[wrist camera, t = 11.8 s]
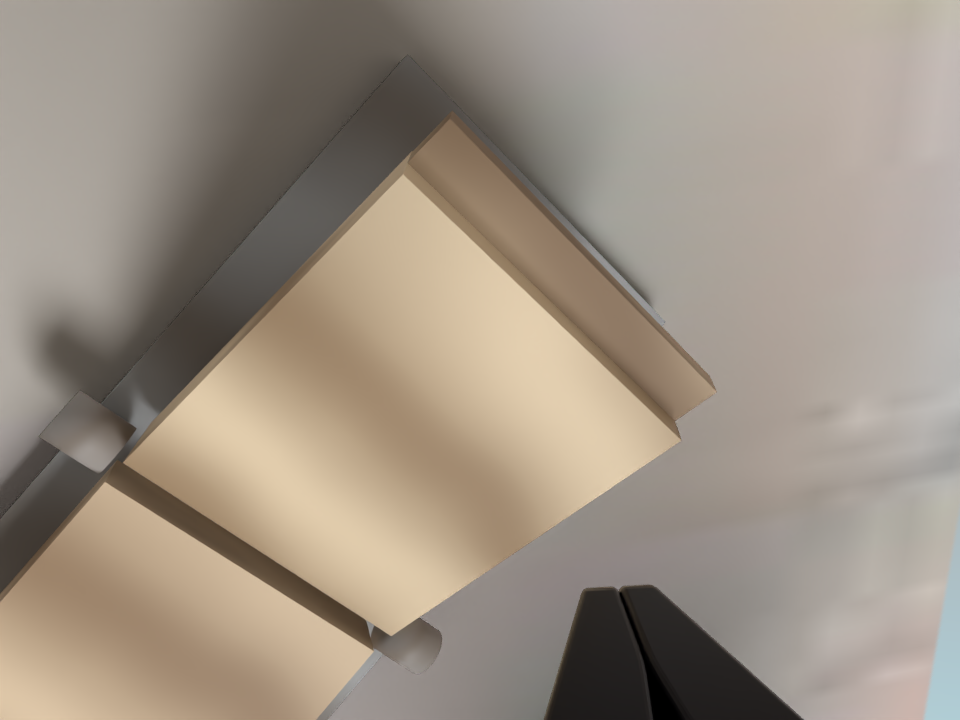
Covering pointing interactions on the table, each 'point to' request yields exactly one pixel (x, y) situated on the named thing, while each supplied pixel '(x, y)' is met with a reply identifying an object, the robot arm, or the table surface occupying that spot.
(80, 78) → the table surface
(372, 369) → the click plank
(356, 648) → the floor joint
